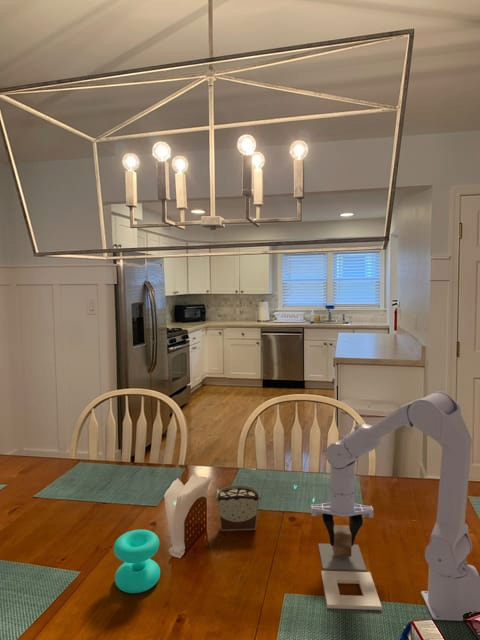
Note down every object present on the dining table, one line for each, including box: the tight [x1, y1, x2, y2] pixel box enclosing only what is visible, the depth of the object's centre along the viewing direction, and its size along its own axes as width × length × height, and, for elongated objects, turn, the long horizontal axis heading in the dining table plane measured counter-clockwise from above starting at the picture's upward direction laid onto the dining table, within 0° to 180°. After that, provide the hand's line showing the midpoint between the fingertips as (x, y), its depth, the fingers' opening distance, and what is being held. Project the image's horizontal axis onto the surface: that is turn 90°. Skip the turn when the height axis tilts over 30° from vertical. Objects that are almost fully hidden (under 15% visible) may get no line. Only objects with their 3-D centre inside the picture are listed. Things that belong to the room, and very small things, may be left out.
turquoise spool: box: [113, 529, 161, 594], centre depth 105 cm, size 10×10×10 cm
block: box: [332, 524, 352, 557], centre depth 112 cm, size 4×4×6 cm
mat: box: [317, 543, 367, 572], centre depth 113 cm, size 10×10×1 cm
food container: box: [215, 484, 262, 532], centre depth 128 cm, size 12×6×10 cm, turn 92°
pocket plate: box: [321, 570, 383, 611], centre depth 101 cm, size 11×11×1 cm
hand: (341, 543), depth 113 cm, fingers closed on block, 4 cm apart
